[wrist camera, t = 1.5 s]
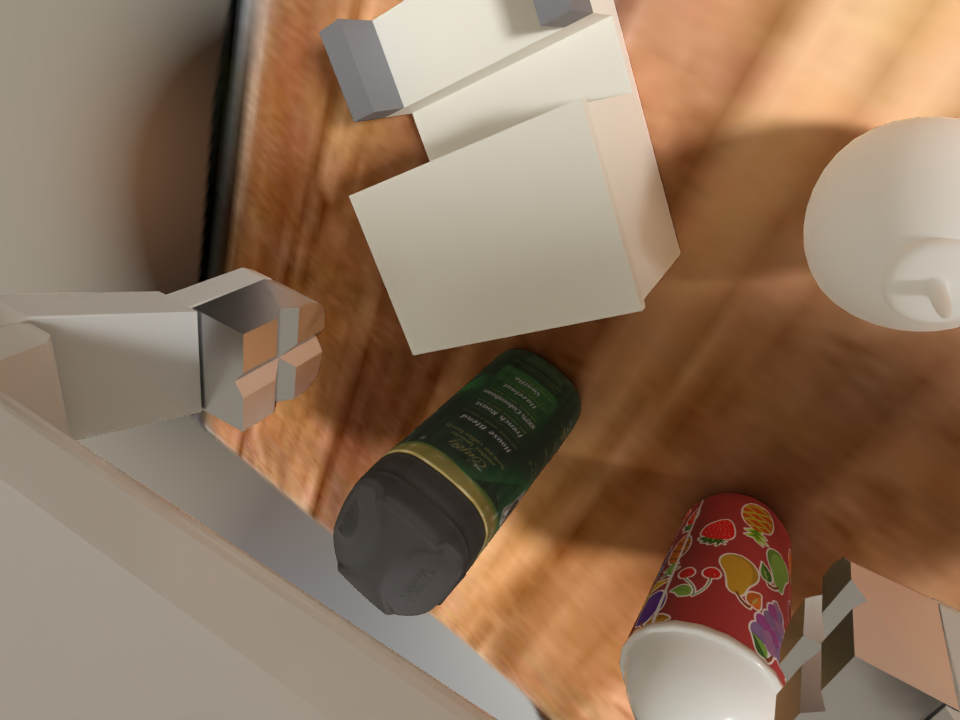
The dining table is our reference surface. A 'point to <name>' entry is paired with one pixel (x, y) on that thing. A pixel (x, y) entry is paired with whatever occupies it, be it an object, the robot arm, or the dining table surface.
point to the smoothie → (714, 618)
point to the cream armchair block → (507, 166)
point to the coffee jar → (452, 484)
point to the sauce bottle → (891, 226)
